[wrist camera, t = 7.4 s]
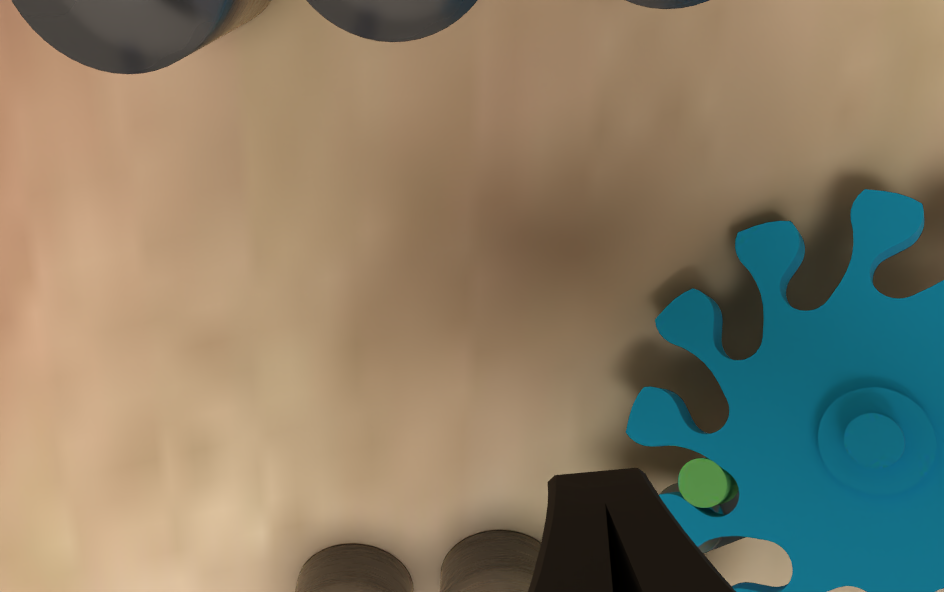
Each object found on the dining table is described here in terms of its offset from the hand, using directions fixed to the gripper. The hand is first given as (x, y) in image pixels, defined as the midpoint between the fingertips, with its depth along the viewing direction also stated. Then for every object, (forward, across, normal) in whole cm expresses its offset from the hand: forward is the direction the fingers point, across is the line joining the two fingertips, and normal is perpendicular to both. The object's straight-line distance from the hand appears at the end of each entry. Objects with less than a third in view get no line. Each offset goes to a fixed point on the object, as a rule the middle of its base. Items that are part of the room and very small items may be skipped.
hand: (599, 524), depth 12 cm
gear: (+8, -6, +2) cm, 10 cm away
